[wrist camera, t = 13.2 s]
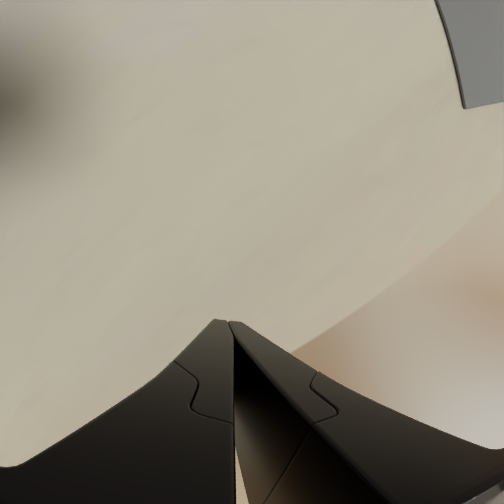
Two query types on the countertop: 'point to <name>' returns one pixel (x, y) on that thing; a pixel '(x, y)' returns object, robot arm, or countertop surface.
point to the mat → (476, 48)
